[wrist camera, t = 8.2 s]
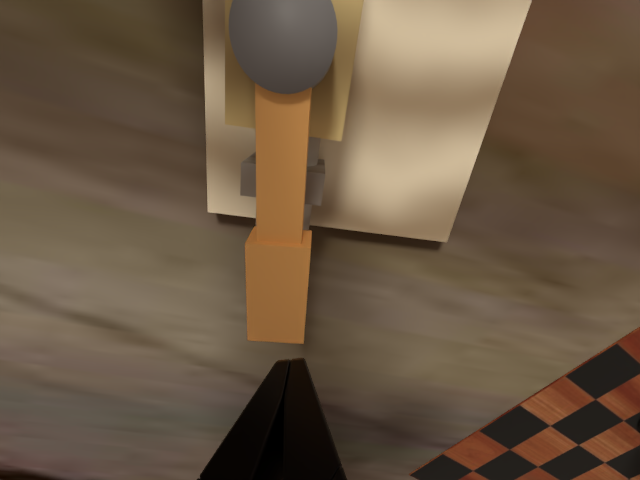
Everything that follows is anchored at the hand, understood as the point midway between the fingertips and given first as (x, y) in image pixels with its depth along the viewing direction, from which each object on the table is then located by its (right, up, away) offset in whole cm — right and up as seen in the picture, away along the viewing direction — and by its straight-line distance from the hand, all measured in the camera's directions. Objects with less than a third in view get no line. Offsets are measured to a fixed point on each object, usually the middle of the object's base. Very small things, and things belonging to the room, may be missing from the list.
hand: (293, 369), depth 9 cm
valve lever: (-1, +6, +4) cm, 7 cm away
